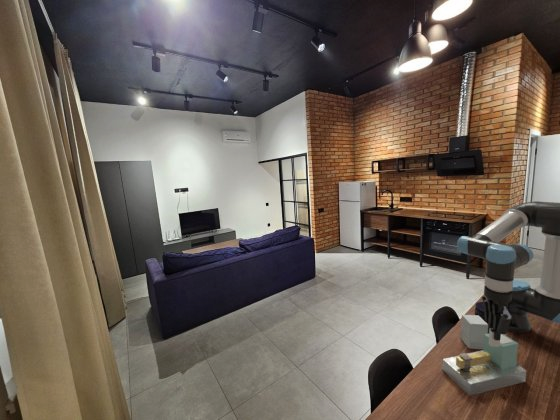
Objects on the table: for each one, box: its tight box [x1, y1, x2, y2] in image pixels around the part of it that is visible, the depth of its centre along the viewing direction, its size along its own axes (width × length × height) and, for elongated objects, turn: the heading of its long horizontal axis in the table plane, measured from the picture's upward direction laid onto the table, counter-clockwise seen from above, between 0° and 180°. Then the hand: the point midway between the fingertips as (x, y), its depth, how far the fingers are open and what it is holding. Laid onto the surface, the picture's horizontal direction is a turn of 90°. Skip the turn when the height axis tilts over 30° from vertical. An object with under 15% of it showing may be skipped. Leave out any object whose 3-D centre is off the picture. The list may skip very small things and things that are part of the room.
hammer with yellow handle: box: [456, 351, 491, 372], centre depth 93 cm, size 3×14×5 cm, turn 98°
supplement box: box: [460, 314, 488, 350], centre depth 111 cm, size 7×7×13 cm
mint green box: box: [482, 334, 519, 369], centre depth 95 cm, size 7×7×10 cm
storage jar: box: [474, 301, 489, 334], centre depth 115 cm, size 10×10×15 cm
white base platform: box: [442, 349, 527, 396], centre depth 95 cm, size 25×12×6 cm, turn 99°
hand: (493, 344), depth 90 cm, fingers closed
